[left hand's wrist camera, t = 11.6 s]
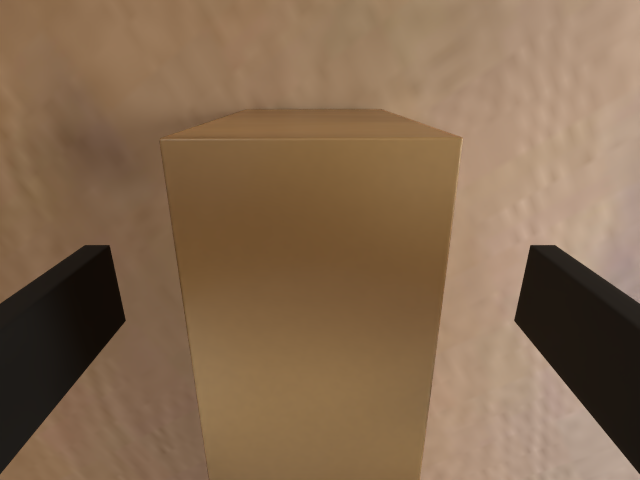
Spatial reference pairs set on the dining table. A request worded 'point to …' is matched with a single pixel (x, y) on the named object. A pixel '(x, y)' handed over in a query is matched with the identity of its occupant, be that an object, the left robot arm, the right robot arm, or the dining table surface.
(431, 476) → the dining table surface
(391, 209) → the bar
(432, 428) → the dining table surface
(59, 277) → the left robot arm
